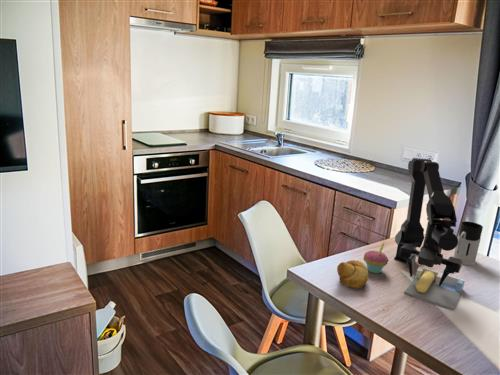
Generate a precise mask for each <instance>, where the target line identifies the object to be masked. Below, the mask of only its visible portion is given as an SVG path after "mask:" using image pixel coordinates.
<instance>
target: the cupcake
mask: <svg viewBox="0 0 500 375" xmlns="http://www.w3.org/2000/svg"><path fill="white" fill-rule="evenodd" d="M384 246H385V241H383V242H382V243H381V246H380V249H379V250H374V249H373V250H369V251H366V252H364V254H363V258H362V259H363V261H364V262H365V263H366V267H367V269H368V272H369V273H370V272H371V273H373V274H379V273H381V272H382V270H383V269H384V267H385V266H387V265H388V262H389V258H388V257H387V255H386V254H385V253H383V252H382V251H383V249H384Z"/></svg>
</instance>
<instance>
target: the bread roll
mask: <svg viewBox="0 0 500 375" xmlns="http://www.w3.org/2000/svg"><path fill="white" fill-rule="evenodd" d="M336 269H337V271H336V272H337V274H338V277H339V281H340V283H341V284H342V285H344V286H345V287H348V288H351V289H361V288H363V287H364V286H365V285H366V284H367V282H368V281H369V280H368V279H369V270H368V269H367V265H365V263H364V262H363V261H359V260H355V259H354V260H353V259H352V260H348V261H345V262H344V261H342V262H340V263H339V264H338V265H337V268H336Z"/></svg>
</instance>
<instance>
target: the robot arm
mask: <svg viewBox="0 0 500 375" xmlns="http://www.w3.org/2000/svg"><path fill="white" fill-rule="evenodd" d="M407 168H408V176H409V178H410V180H411V185H410V186H411V188H410V193H409V199H408V200H409V201H408V207H407V208H408V209H407V213H406V214H407V215H406V219H405V220H404V221H403V223H402V224H401V226H400V230H399V231H398V232H397V233H396V235H395V237H394V242H395V243H396V245H397V248H396V253H395V256H394V257H393V259H394V260H397V261H400V262H402V263H405V264H407V265H408V270H409V271H408V272H409V277H411V278H412V277H413V275H414V271H415V270H414V269H415V263H416V262H415V261H416V259H417V264H418V265H419V266H426V267H427V268H429V269H430V268H433V267H434V265H435V266H437V265H438V266H441V265H445V267H444V269H443V272H442V273H443V275H442V277H441V280H440V283H439V286H441V284H442V283H443V281H444V280H445V278H446V277H447V276H448V275H450V274H452V275H453V274H458V273H460V271H461V269H462V266H463V264H462V260H461V259H458V258H454V257H452V256H449V257H448V259H447V258H444V254H442V250H443V251H447V252H448V251H452V250H453V251H454V250H455V247H456V246H457V244H458V236H457V235H456V234H455V233H454V232H455V229H453V228H456V227H457V223H458V219H457V213H456V209H455V206H454V203H453V202H452V201H453V200H452V199H451V197H449V196H448V195H447V194H446V193H445V190H444V185H443V183H442V178H441V174H440V172H439V169H440V164H439V162H436V161H432V159H431V158H421V157H419V158H418V157H413V158H411V160H409V161H408V164H407ZM425 188H426V190H427V194H428V201H427V203H426V208H425V209H426V211H425V212H426V216H427V218H426V219H427V225H426V229H425V228H424V227H423V226H422V224H421V219H422V218H421V217H422V210H423V204H424V197H425ZM424 233H425V234H424ZM417 248H418V249H420V250H418V249H417Z"/></svg>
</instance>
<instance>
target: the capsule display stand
mask: <svg viewBox="0 0 500 375" xmlns="http://www.w3.org/2000/svg"><path fill="white" fill-rule="evenodd" d="M426 271H431V272H432V273H433V274H434V280H433V281H432V283H431V284H430V286H429V288H428V289H427V291H426V292H424V293H420V292H418V291H417V290H416V284H417V282H418V281H419V280H420V278H421V277H422V275H423V274H424V273H425V272H426ZM415 273H416V274H415V276H414V278H413V280H412V281H411V282H410V283H409V285H408V286H407V287H406V289H405V290H404V292H403V294H405V295H407V294H408V296H410V295H411V296H410V297H414V298H417V299H419V300H422V301H425V302H428V303H431V304H434V305H437V306H438V307H439V306H440V307H442V308H444V309H448V310H451V311H454V310H455V308H456V306H457V304H458V301H459V299H460V296H461V294H462V293H463V290H464V286H465V282H466V280H465V279H462V278H460V277H459V278H458V277H456V276H454V275H450V274H449V275H448V276H447V277H446V278H445V280H444V281H443V283H442V284H441V286H439V283H440V280H441V277H442V275H443V272H439V271H437V270H434V269H430V268H428V267H423V266H422V265H419V266H418V268H417V269H416V272H415Z"/></svg>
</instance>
